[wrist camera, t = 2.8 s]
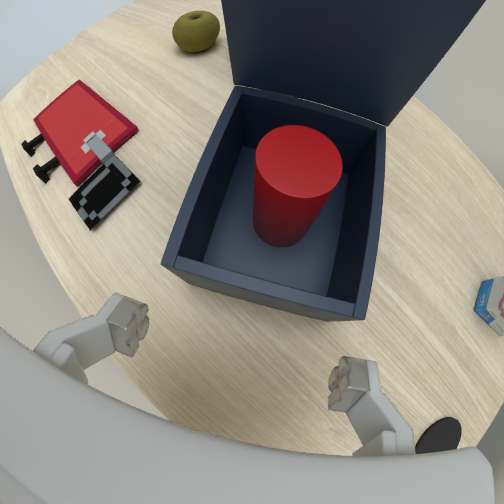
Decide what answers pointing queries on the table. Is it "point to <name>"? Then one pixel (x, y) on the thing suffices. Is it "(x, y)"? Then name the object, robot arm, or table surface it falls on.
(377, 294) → the table surface
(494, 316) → the ink box
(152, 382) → the table surface
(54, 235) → the table surface
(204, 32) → the apple
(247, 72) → the lid
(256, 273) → the dark blue open box
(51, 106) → the red board with handle
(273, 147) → the can
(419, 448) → the coaster
